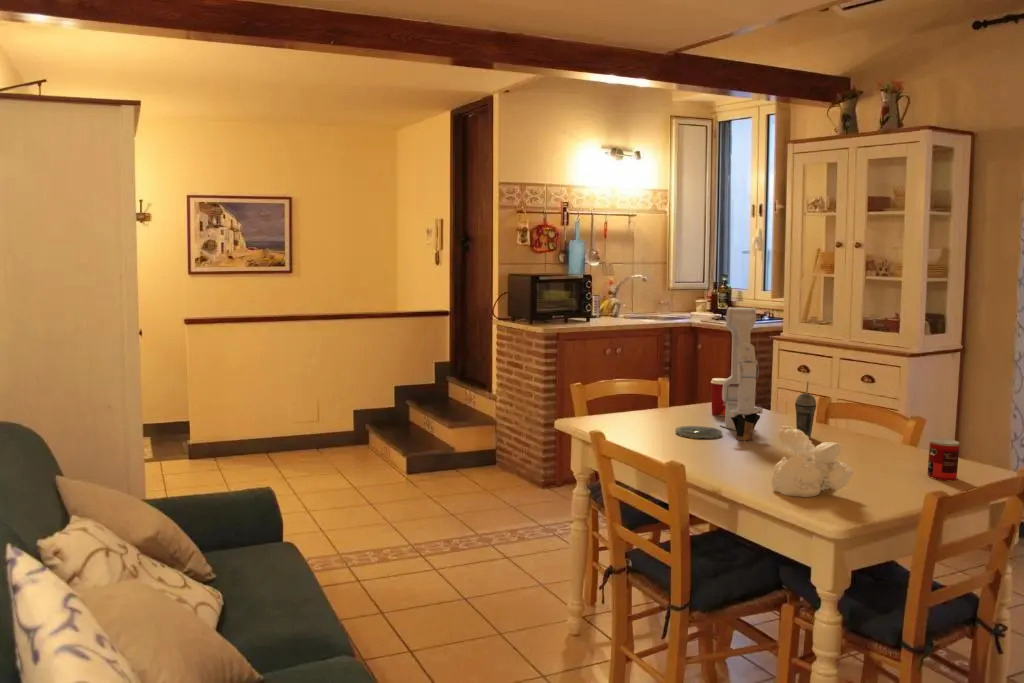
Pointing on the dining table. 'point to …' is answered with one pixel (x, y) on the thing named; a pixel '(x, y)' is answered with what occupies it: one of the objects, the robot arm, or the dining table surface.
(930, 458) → the canned food
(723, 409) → the paper cup
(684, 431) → the dish
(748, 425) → the walnut block
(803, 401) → the beverage cup
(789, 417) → the dining table surface
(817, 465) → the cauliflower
